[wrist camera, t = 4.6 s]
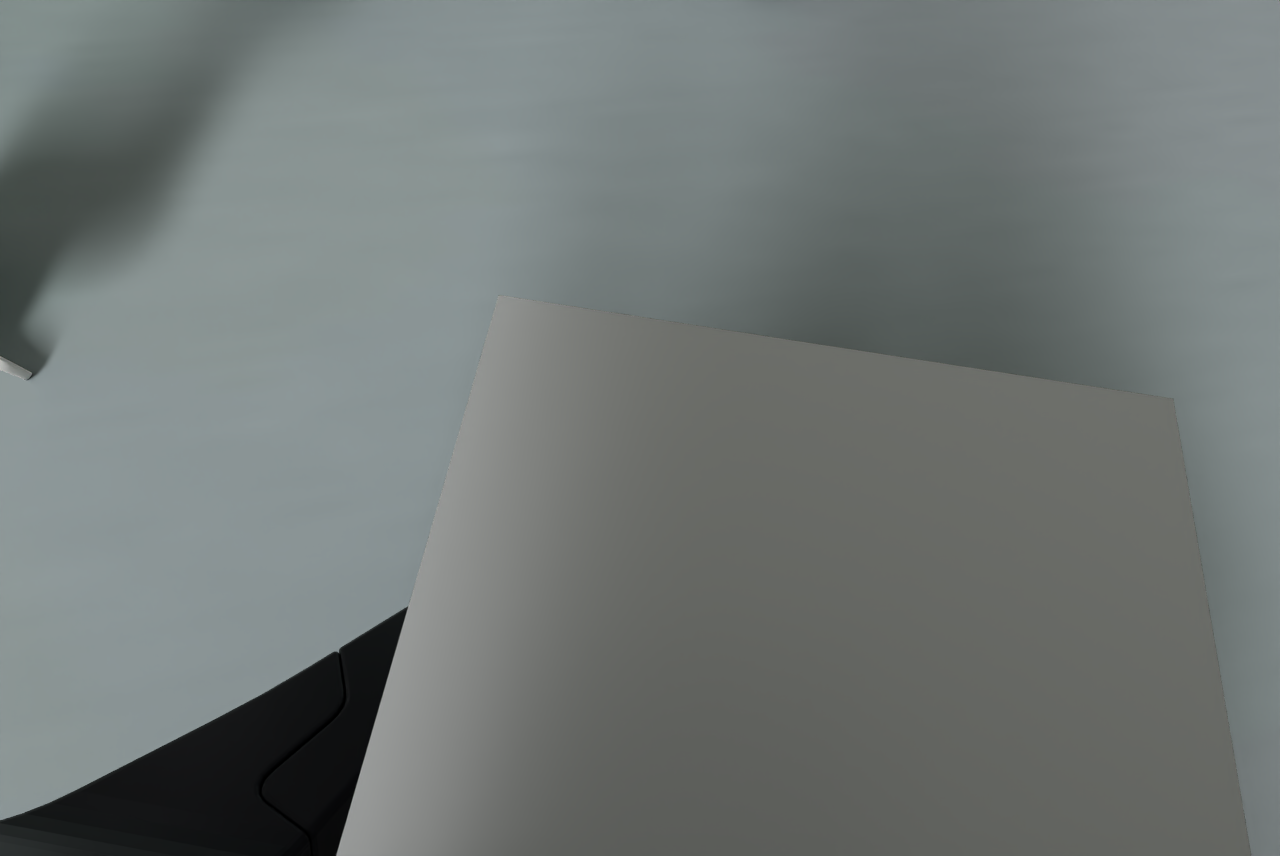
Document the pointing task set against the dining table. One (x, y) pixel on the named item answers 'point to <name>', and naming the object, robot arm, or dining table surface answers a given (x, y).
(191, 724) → the dining table surface
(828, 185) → the dining table surface
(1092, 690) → the plain gray block
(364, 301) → the dining table surface
